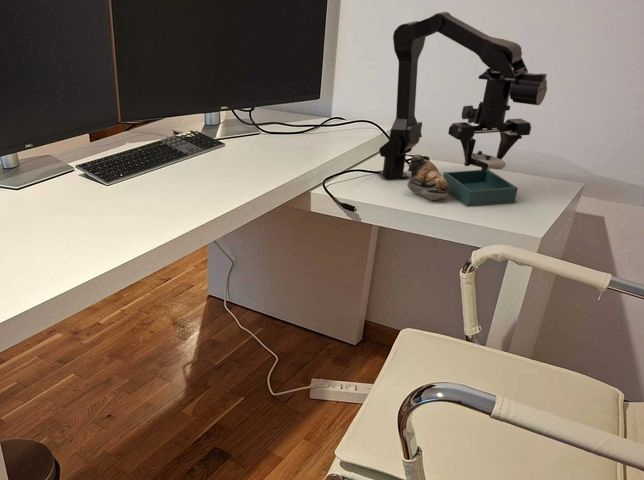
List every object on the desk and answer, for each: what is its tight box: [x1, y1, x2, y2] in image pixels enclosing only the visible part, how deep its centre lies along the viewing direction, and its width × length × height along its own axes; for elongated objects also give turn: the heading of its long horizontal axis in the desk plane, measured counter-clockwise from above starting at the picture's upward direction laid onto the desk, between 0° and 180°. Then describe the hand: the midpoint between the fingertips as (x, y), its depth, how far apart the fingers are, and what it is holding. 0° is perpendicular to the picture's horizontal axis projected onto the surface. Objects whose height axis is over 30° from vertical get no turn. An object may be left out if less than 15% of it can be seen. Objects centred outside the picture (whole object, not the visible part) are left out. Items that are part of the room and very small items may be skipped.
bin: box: [442, 169, 519, 207], centre depth 174 cm, size 15×12×4 cm
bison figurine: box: [407, 153, 449, 201], centre depth 172 cm, size 12×7×10 cm, turn 33°
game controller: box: [463, 150, 506, 171], centre depth 170 cm, size 10×5×6 cm
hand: (482, 163), depth 170 cm, fingers closed on game controller, 8 cm apart
